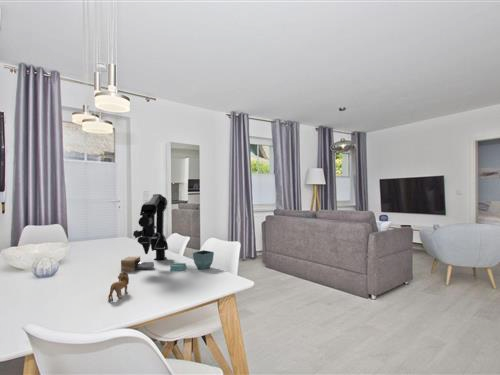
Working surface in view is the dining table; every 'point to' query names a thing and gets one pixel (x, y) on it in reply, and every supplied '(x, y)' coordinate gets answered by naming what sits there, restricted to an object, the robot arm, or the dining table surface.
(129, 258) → the brown block
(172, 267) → the cradle
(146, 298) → the dining table surface
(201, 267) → the flower pot
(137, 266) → the axle
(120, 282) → the lion figurine
